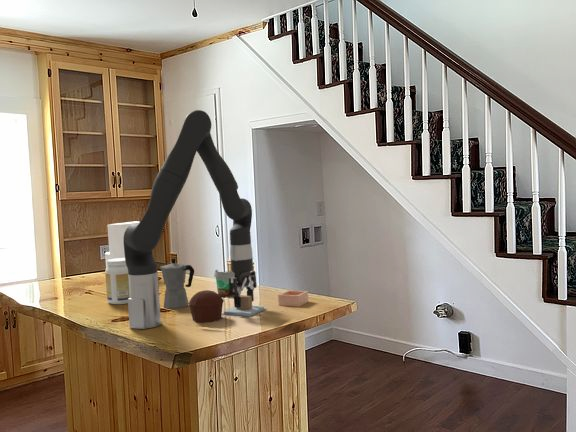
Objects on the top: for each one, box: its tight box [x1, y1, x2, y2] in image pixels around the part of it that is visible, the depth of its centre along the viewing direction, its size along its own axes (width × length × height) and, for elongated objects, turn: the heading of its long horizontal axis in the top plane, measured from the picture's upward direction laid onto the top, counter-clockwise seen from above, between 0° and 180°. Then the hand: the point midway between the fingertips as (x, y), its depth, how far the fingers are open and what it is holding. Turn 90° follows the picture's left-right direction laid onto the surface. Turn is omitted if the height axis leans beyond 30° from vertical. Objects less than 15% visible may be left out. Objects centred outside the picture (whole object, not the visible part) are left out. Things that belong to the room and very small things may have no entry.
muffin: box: [188, 289, 225, 324], centre depth 181 cm, size 12×11×10 cm
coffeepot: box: [158, 257, 195, 310], centre depth 205 cm, size 15×9×18 cm, turn 66°
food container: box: [213, 269, 238, 298], centre depth 220 cm, size 12×6×10 cm, turn 62°
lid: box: [223, 294, 265, 317], centre depth 188 cm, size 10×10×5 cm
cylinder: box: [104, 220, 140, 269], centre depth 270 cm, size 17×17×28 cm
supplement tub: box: [104, 258, 130, 305], centre depth 219 cm, size 12×12×17 cm
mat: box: [221, 308, 268, 318], centre depth 188 cm, size 12×12×1 cm
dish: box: [277, 290, 309, 308], centre depth 198 cm, size 8×8×4 cm
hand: (244, 304), depth 188 cm, fingers open, 8 cm apart
